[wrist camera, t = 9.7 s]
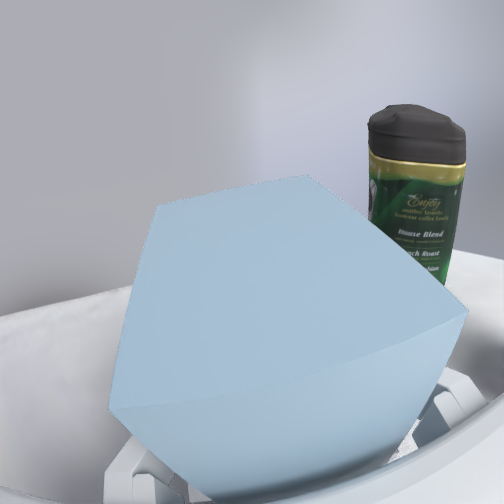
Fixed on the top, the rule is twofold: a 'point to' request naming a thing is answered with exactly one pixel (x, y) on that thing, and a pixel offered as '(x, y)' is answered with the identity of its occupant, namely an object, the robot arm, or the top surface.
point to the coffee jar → (417, 181)
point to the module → (277, 342)
